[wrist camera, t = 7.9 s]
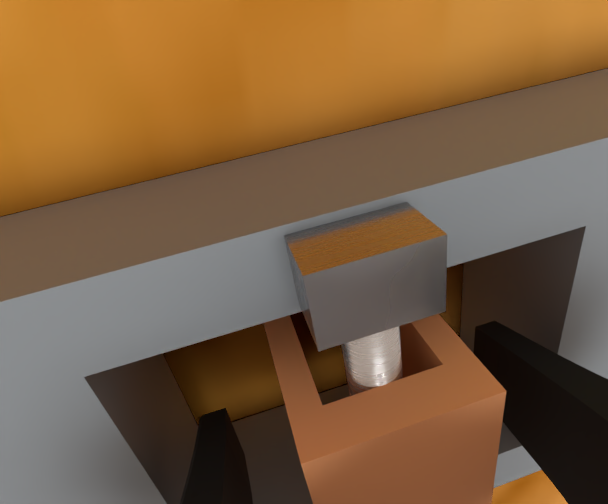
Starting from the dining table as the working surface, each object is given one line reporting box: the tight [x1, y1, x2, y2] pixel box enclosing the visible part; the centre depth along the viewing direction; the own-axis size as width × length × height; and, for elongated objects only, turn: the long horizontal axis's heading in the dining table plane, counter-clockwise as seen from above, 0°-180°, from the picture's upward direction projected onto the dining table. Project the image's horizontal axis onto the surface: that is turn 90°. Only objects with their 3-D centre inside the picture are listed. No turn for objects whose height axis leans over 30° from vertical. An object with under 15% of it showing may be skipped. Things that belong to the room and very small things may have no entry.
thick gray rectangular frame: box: [0, 68, 608, 504], centre depth 12 cm, size 12×22×6 cm, turn 99°
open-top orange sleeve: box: [263, 314, 506, 504], centre depth 11 cm, size 5×4×6 cm
